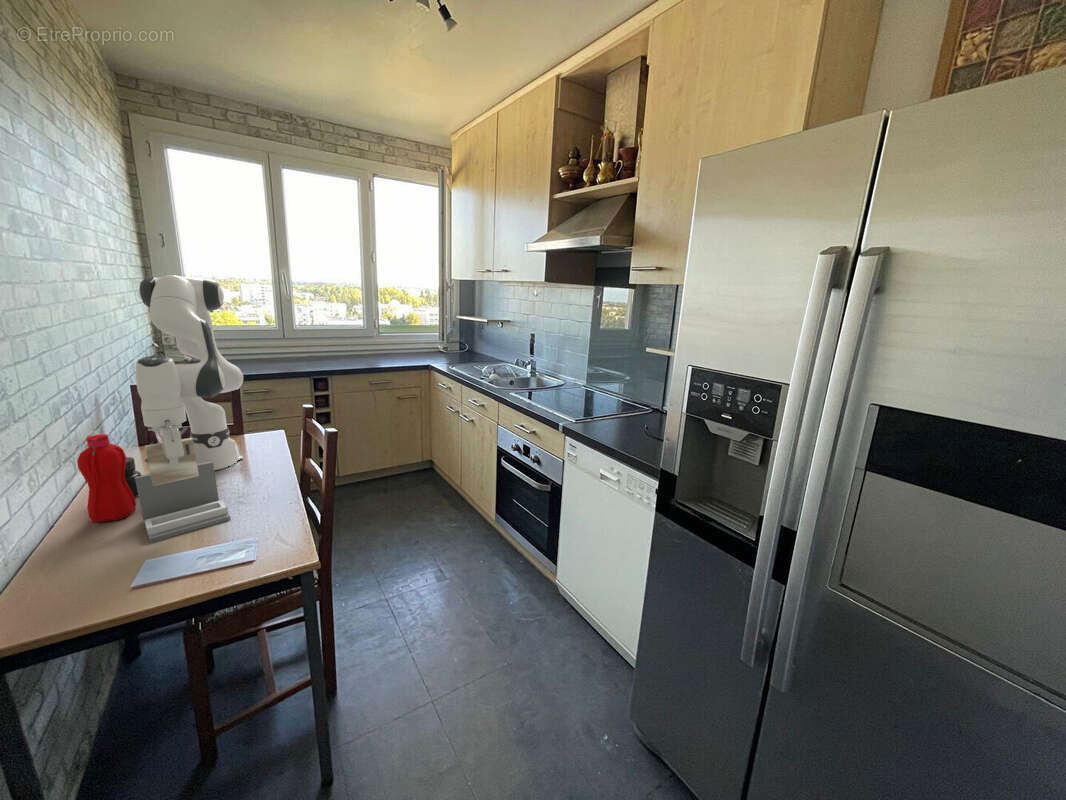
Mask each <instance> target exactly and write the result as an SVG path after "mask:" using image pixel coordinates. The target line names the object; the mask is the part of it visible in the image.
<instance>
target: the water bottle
mask: <svg viewBox="0 0 1066 800" xmlns="http://www.w3.org/2000/svg"><path fill="white" fill-rule="evenodd" d="M86 442H87V446H88V447H87V448H85V449H84V450H83V451H82V452H80V454H79V456H78V457H77V460H76V463H77V469H78V470H79V472H80V474H81V475H82V477H83V479H84V480H85V482H86V483H87V486H88V497H87V506H86V508H87V513H88V517H89V518H88V519H89V520H90V521H91V522H93V523H103V522H105V523H106V522H111V521H119V520H122V519H124V518H125V519H126V518H127V517H128V516H130V515H131V514H132V513H133V511H135V510H136V505H137V502H136V497H134V495H133V493H132V491H131V490H130V488H129V486H128V484H127V482H126V481H125V464H126V457H127V455H126V454H125V451H124V449H123V448H122V447H121V446H119V445H117V444H114V443H113V444H112V443H110V439H109V436H108V434H103V433H102V434H93V435H91V436H87V437H86Z"/></svg>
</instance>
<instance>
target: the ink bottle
mask: <svg viewBox="0 0 1066 800" xmlns="http://www.w3.org/2000/svg"><path fill="white" fill-rule="evenodd" d="M141 475H142V473H141V472H140V471H138V470H136V463H135V458H134V457H130V456H128V457H127V456H126V464H125V481H126V482H127V484H128V486H129V488H130V490H131V491H132V493H133V495H134V498H136V497H139V496H138V491H137V486H136V481H135V477H136V476H141Z"/></svg>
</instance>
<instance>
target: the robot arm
mask: <svg viewBox="0 0 1066 800" xmlns="http://www.w3.org/2000/svg"><path fill="white" fill-rule="evenodd" d="M138 295H139V298H140V299H141V301H142V303H143V304H144V305H145V306H146V307H148V308H149V317H150V321H151V323H152V324H153V325H154V326H155V327H156V329H158V330H160V331H161V332H163V333H165V334H166V335H168V336H172V337H175V341H176V342H175V343H176V347H177V350H178V351H179V352H181V354H184V355H186V356H188V357H190V358H191V357H192V358H196V359H198V360H200V361H199V362H196V363H178V364H177V363H176V364H175V361H174V359H173V358H172V357H170V356H167V355H149V356H145V357H142V358H140V359H138V360H137V361H136V362H135V363H136V364H135V381H136V388H137V393H138V395H139V397H140V399H141V404H140V408H141V409H140V410H141V414H142V419H143V425H144V427H147V428H151V431H152V432H154V434H155V437H156V439H157V442H159V443H161V445H162V449H163V451H164V453H165V455H166V457H167V459H169V463H170V467H177V466H179V463H178V457H182V456H184V450H183V445H182V440H181V439H182V435H180V432H179V428H181V427H183V426H182V424H183V423H184V422H186V421H187V419H188V423H189V427H190V432H189V438H192V439H193V443H194V449H195V455H196V461H197V464H200V463H205V462H210V461H212V462H213V465H214V471H217V470H222V469H226V468H228V466H229V467H232V466H233V465H235V464H236V463H238V462H239V461H238V460H240V459H242V458H243V459H244V457H243V455H240V454H238V450H237V445H236V444H237V443H236V441H235V440H234V439H233V438H230V430H229V427H228V426H227V418H226V412H225V409H224V408H223V407H222V406H221V405H219V404H217V403H214V402H209V401H206V400H204V399H203V398H214V397H215V396H218V395H219V394H224V393H229V392H232V391H235V390H239V389H240V388H241V386H243V383H244V374H243V372H242V370H241V368H239V367H238V366H237V365H235V364H233V363H231V362H229V361H228V360H227V359H226V358H224V356H223V355H222V354H221V352H220V351H219V349H218V346H217V343H216V338H215V334H214V333H215V332H214V327H213V321H212V317H211V313H213V312H214V311H216V310H219V309H220V308H221V307H222V306H223V303H224V298H225V296H224V295H225V294H224V291H223V289H222V287H221V285H220V284H219V283H218V281H216V280H213V279H209V278H204V279H203V278H198V277H197V278H196V277H192V276H191V277H190V276H189V277H188V276H179V275H173V274H172V275H170V274H169V275H164V276H162V277H157V276H149V277H145V278H144V279H143V280H141V281H140V282H139V288H138ZM172 441H173V442H172ZM243 459H242V460H243ZM237 461H238V462H237ZM240 461H241V460H240ZM234 463H235V464H234Z"/></svg>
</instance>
